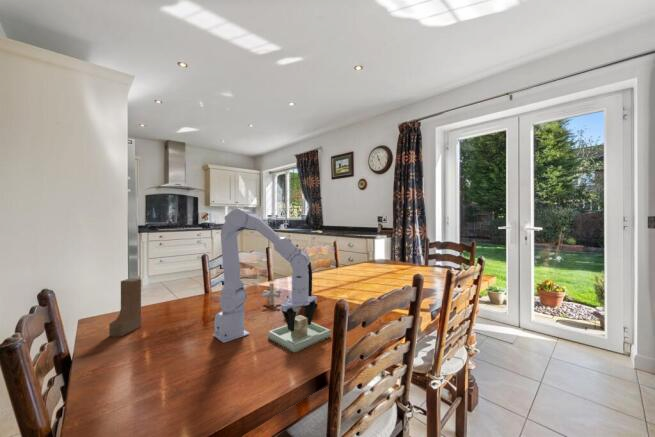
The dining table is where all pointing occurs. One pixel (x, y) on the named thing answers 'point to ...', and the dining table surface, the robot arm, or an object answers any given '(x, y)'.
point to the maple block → (300, 327)
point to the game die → (294, 308)
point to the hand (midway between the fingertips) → (299, 327)
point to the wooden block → (128, 309)
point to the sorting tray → (294, 344)
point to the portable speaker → (310, 279)
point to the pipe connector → (271, 293)
